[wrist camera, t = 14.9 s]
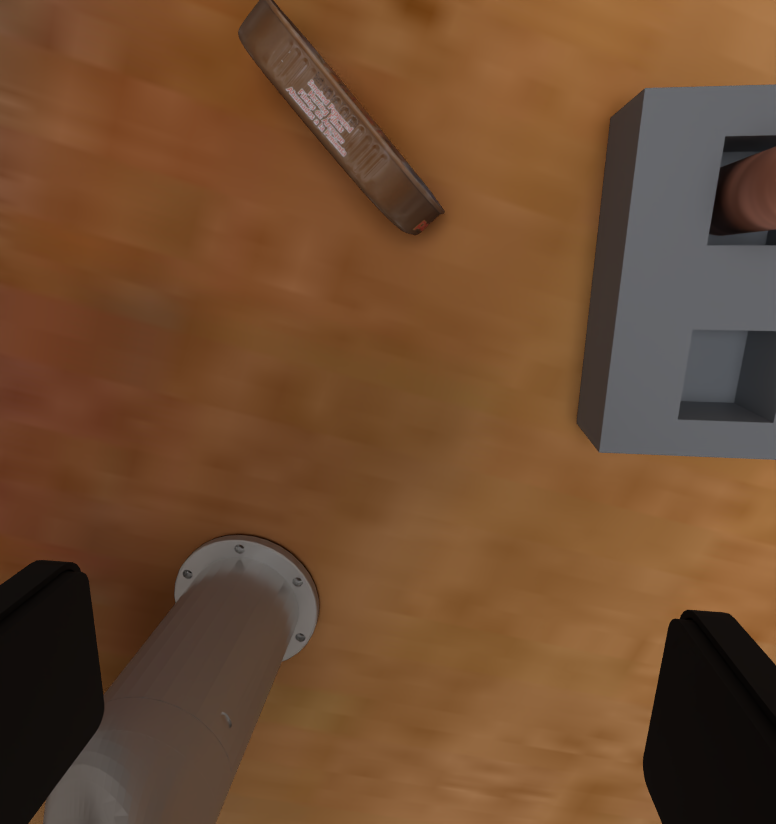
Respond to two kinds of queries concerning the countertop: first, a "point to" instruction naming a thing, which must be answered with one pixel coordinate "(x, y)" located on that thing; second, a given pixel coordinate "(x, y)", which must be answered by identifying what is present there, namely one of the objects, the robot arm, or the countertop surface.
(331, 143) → the tin
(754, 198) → the pin
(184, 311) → the countertop surface
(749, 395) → the bore block
